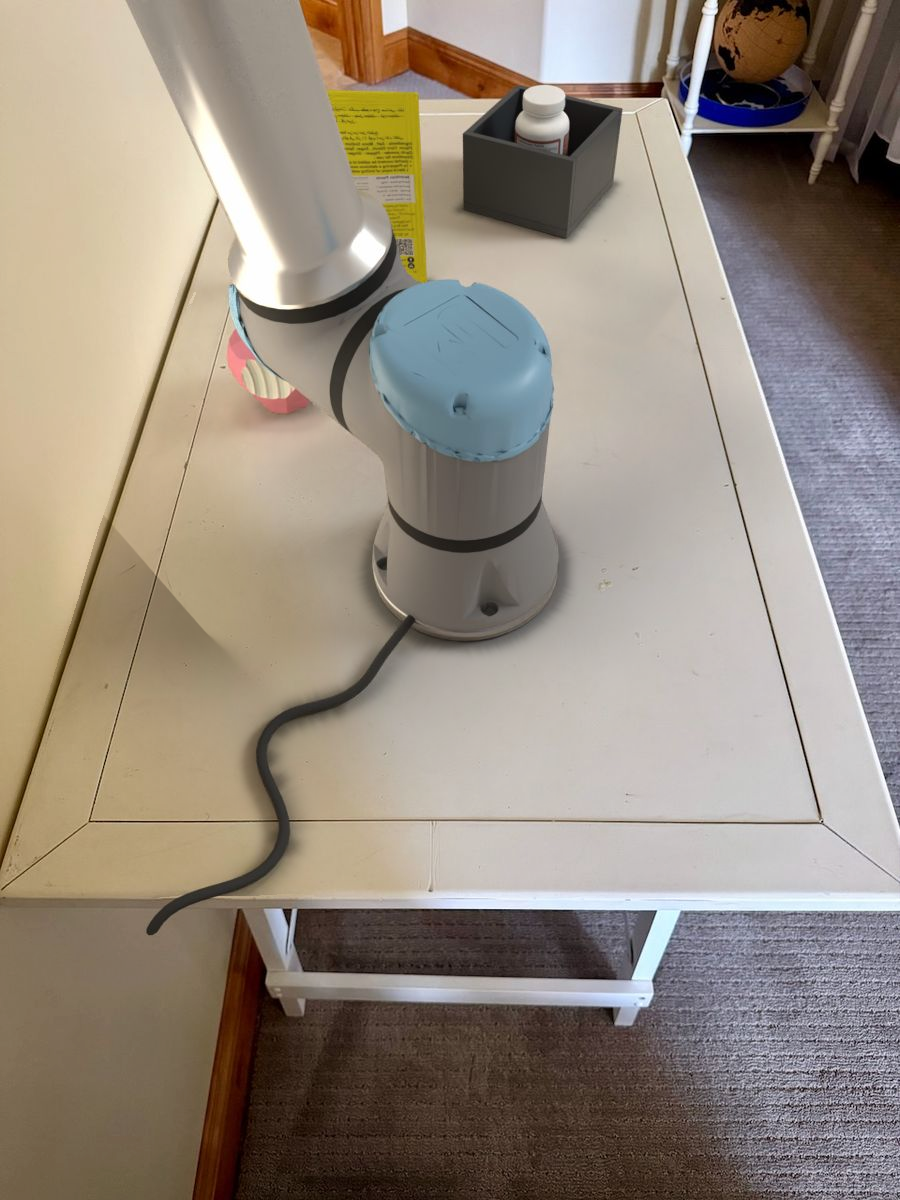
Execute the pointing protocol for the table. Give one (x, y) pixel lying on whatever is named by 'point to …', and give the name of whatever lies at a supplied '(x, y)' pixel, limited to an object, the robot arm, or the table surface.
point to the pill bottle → (543, 120)
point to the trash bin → (540, 166)
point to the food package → (387, 162)
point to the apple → (261, 379)
